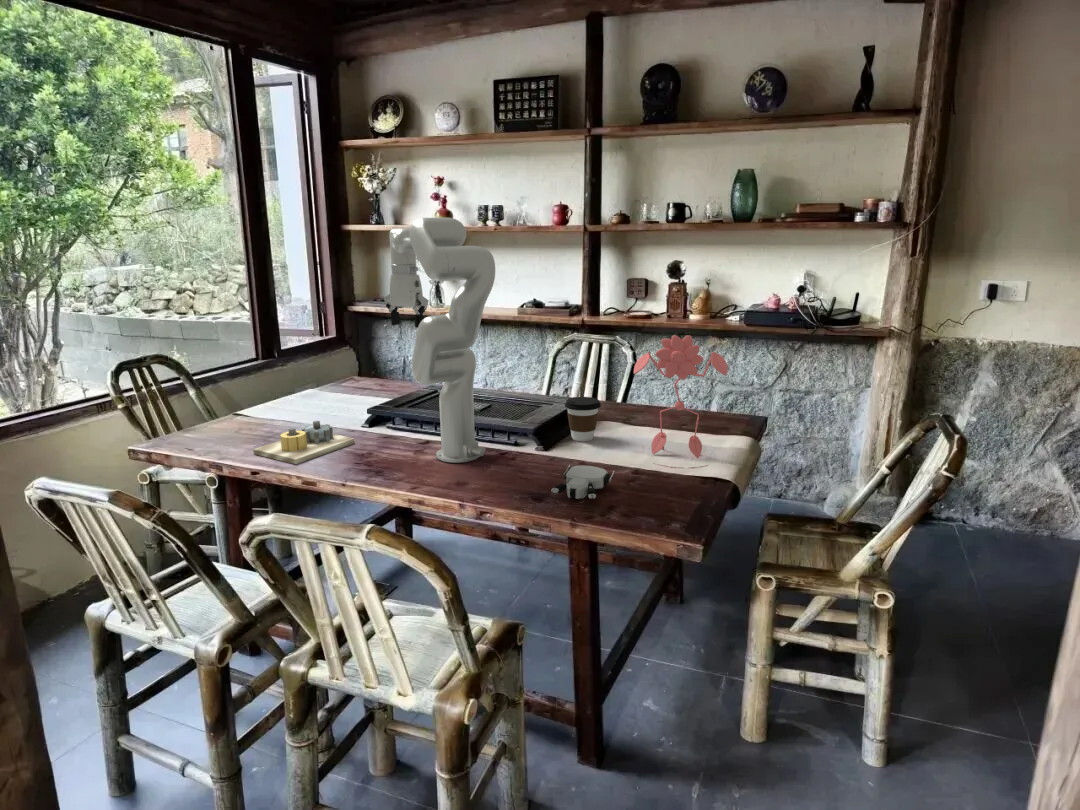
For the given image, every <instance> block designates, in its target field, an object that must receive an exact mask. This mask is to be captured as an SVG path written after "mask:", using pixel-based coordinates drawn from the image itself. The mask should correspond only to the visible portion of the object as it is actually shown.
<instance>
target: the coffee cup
mask: <svg viewBox="0 0 1080 810" xmlns="http://www.w3.org/2000/svg"><path fill="white" fill-rule="evenodd" d="M601 405H602V404H601V402H600V399H598V398H595V397H591V396H574V397H570V398H568V399H566V401H565V402H564V407H565V408H566V410H567V412H566V413H567V418H568V425H569V430H570V434H571V438H572V440H574V441H576V442H590V441H592V440H593V439H594V436H595V431H596V429H597V427H596V426H597V422H598V417H599V409H600V408H601V407H602V406H601Z"/></svg>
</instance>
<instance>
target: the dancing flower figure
mask: <svg viewBox="0 0 1080 810" xmlns="http://www.w3.org/2000/svg"><path fill="white" fill-rule="evenodd" d="M660 342H661V343H660V344H661V345H662V347H663V348H659V349H657V350H656V352H655V357H656V358H658V360H657V362H656V361H655V359H654V358H653V357H652V356H653V355H651V352H650V351H649V352H647V353H643V355H642V356H640V357H639V358H638V360H637V361H636V362H635V364H634V366H633V367H634V368H633V374H634V375H637V374H638V373H639V372H640V371H642V370H643V369H644V368H645V367H646V366H648V363H649V362H650V360H651V361H652V362H653V364H654V366H656V367H655V368H657V370H658V371H659V373H661V375H662V376H663V378H664V377H667V379H672V378H674V376H675V375H676V376H677V377H678V378H677V379H676V380H675V382H674V385H673V386H674V388H675V389H674V390H675V393H676V397H677V401H675V403H674V406H672V407H669V408H666V409H662V410H660V411H659V420H660V422H659V423H660V432H658V433H657V434H656V435H655V436H654V437H653V439H652V442H651V445H650V447H651V454H652V455H655V454H657V453H659V452H661V450H662V451H664V450H665V445H666V442H667V434H666V433H665V432H664V431H663V423H662V422H663V420H662V413H663V412H666V411H668V410H672V409H675V410H677V411H683V410H686V411H687V412H690V413H693V414H695V415H697V419H696V423H695V424H696V425H695V429H694V434H693V435H691V436H689V438H688V448H689V451H690V453H692V455H693V456H694V457H695V458H696V459H700V456H701V454H702V451H703V444H702V441H701V439H700V438H699V437H698V436H697V432H698V424H699V419H700V414H699V413H697V412H695V411H692V410H691V409H689V408H687V407H685V403H684V401H682V400H680V395H679V390H678V386H677V385H678V383H679V381H680V380H687V377H688V375H690V376H697V377H701V378H704V377H705V375H706V374H707V372H708V369H709V366H710V364H711V365H712V367H713V368H714V369H715V370H716V371H717V372H718V373H720V374H722V375H723V376H727V374H728V364H727V361H726V359H725V358H724V357H723V356H722V355H720V354H719V353H717V352H715V351H712V352H711V355H710V357H709V360H708V362H707V365H706V367H705V370H704V371H703V374H700V373H698V368H697V367H696V366H698V365H700V364H701V363H703V361H704V357H703V355H702V356H701V355H700V354H699V351H700V346H699V345H698V344H693V343H694V340H693V338H692V336H691V335H690V334H689V335H687V334H686V335H685V336H684V337H683V339H682V338H681V337H680V336H678V335H677V334H676V335H675V334H673V335H672V336H671V339H670V338H666V337H665V338H662V339H661V341H660ZM662 369H664V371H665V372H663V371H662ZM643 447H644V445H642V446H641V448H643ZM652 464H654V465H657V466H661V467H662V466H663V467H664V465H662V464H658V463H654V462H653V463H652ZM708 466H709V464H706V465H705V467H708ZM665 467H666V468H670V469H680V468H681V469H683V467H681V466H680V467H679V466H678V467H676V466H667V465H665ZM703 467H704V465H701V466H699V468H703ZM697 468H698V466H692V467H689V469H697Z"/></svg>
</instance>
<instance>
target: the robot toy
mask: <svg viewBox="0 0 1080 810" xmlns="http://www.w3.org/2000/svg"><path fill="white" fill-rule="evenodd" d="M614 474H615V470H613V471H612V473H611V475H610V474H609V472H608V470H606V469H605V468H602V467H597V466H592V465H574V466H571V464H569V465H568V466H567V468H566V470H565V472H564V473H563V476H564V480H565V481H566V483H557V484H556V485H555V486H554V487H552V488H551V493H554V494H562V493H564V492H566V494H567V498H568V499H571V498H572V499H576V500H577V499H578V500H580V499H585V498H586V497H587V498H589V499H596V498H597V494H596V493H597V492H596V490H598V489H603V488H604V487H605V486H607V485H609V483H611V482H612V477H614Z"/></svg>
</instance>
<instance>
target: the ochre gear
mask: <svg viewBox="0 0 1080 810" xmlns="http://www.w3.org/2000/svg"><path fill="white" fill-rule="evenodd" d="M279 438H280V440H281V448H282V450H285V451H297V450H301V449H304V448H305V447H307V441H306V432H304V431H302V430H296V436H289V431H285V432H282V433H281V434H280V437H279Z"/></svg>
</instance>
